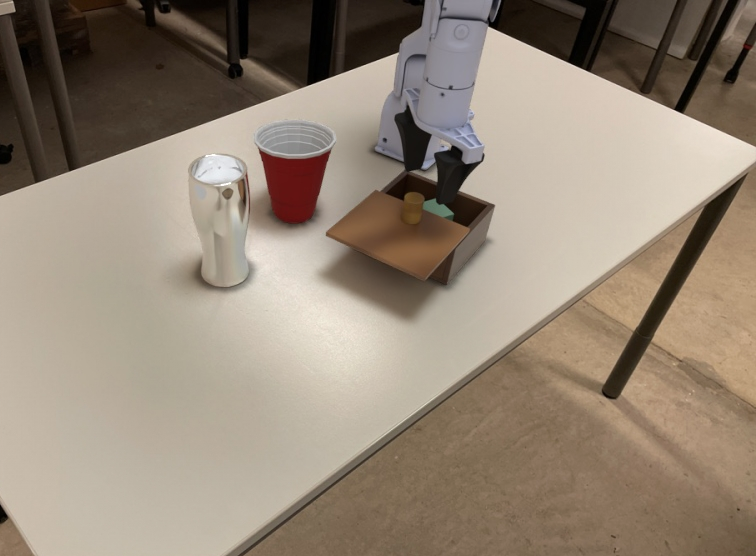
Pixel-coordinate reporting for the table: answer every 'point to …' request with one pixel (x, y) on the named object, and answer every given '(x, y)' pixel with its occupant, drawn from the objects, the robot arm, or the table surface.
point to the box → (465, 213)
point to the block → (438, 209)
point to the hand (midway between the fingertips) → (428, 185)
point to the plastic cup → (294, 165)
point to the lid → (399, 233)
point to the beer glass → (221, 216)
